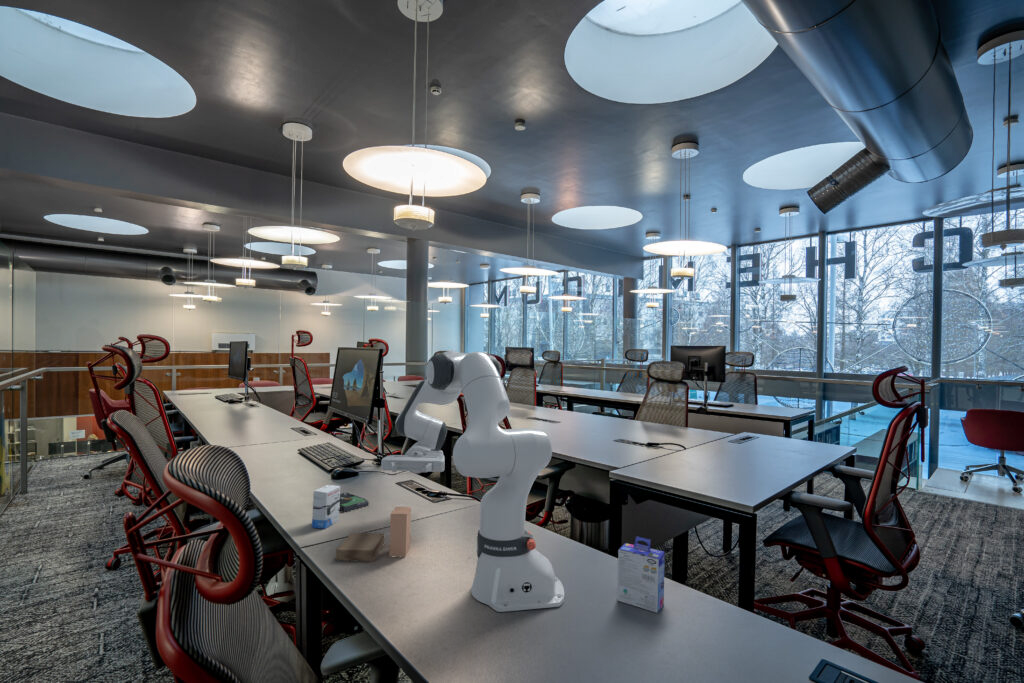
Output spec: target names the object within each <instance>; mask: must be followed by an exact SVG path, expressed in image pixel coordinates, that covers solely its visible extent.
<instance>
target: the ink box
mask: <svg viewBox="0 0 1024 683" xmlns="http://www.w3.org/2000/svg"><path fill="white" fill-rule="evenodd" d="M340 494H341V485H340V486H339V485H333V484H326V485H323V486H322V487H320V488H317V489H314V491H313V495H312V496H313V497H312V517H311V518H312V519H311V528H314V529H321V528H322V529H323V530H325V528H326V529H327V528H329V527H330V525H331V526H332V525H334V524H335V522H336V523H337V522H339V521H340V511H339V507H340Z"/></svg>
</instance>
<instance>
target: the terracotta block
mask: <svg viewBox="0 0 1024 683" xmlns="http://www.w3.org/2000/svg"><path fill="white" fill-rule="evenodd" d="M411 520H412V507H411V506H395V507H394V508H393V510H392V512H391V513H390V530H389V531H390V532H389V552H388V553H389V555H388V556H399V557H398V558H406V557H407V555H408V553H409V550H410V549H411V547H410V546H411ZM409 548H410V549H409ZM400 556H401V557H400Z"/></svg>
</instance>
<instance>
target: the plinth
mask: <svg viewBox="0 0 1024 683" xmlns="http://www.w3.org/2000/svg"><path fill="white" fill-rule="evenodd" d="M383 544H384V545H385V533H384V532H383V533H379V532H377V533H376V532H375V533H374V532H372V533H371V532H350V533H349V535H348V536H346V538H345V539H344V540H343V541H342V542H341V543H340V545H339V546H338V547H337V548H336V551H335V552H336V556H335V557H336V558H335V561H336V560H344V561H343V562H349V560H352V561H351V562H354V561H353V560H358V561H357V562H374V561H375V559H374V558H376V557H377V556H378V555H379V553H378V552H380V551H381V550H382V548H383V546H384V545H383ZM381 547H382V548H381ZM379 550H380V551H379ZM376 555H377V556H376ZM345 560H346V561H345Z"/></svg>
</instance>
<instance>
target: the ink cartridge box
mask: <svg viewBox="0 0 1024 683" xmlns="http://www.w3.org/2000/svg"><path fill="white" fill-rule="evenodd" d="M651 541H652V540H651V539H649V538H645V537H641V536H635V541H634V544H632V543H624V544H622V546H621V547H620V548H619V549H618V550H617V554H618V555H617V556H618V557H617V587H616V589H617V592H616V594H617V595H616V601H618V602H621V603H625V604H628V605H630V606H634V607H637V608H641V609H643V610H646V611H651V612H653V613H659V611H660V610H661V609H662V607H663V606H664V605H665V556H666V555H665V551H662V550H659V549H654V548H651ZM638 542H645V544H647V545H645V544H641V543H638Z"/></svg>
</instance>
